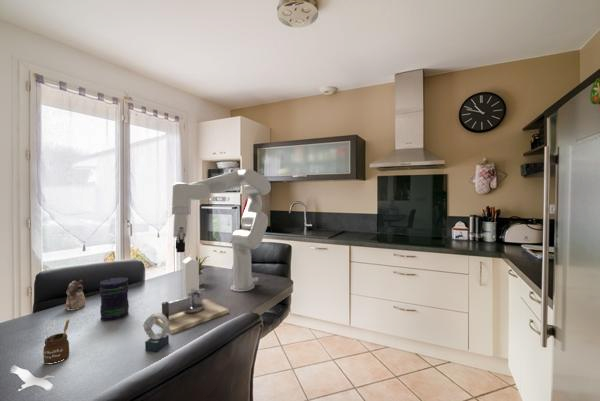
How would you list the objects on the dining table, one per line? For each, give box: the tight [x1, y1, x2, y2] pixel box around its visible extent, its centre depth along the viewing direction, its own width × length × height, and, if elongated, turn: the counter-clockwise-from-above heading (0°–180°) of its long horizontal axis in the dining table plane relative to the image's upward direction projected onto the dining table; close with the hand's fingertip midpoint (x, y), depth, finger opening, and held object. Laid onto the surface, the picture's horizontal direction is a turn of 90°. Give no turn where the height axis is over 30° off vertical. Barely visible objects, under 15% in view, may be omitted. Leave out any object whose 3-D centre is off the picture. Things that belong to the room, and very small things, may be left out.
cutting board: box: [155, 298, 229, 335], centre depth 115 cm, size 24×18×2 cm
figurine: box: [64, 279, 86, 310], centre depth 124 cm, size 7×7×12 cm
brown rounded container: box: [42, 318, 70, 364], centre depth 85 cm, size 6×6×12 cm
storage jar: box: [99, 276, 130, 322], centre depth 115 cm, size 10×10×15 cm
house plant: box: [195, 255, 210, 286], centre depth 157 cm, size 14×14×16 cm
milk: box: [181, 253, 200, 298], centre depth 131 cm, size 6×6×22 cm
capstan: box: [161, 288, 206, 319], centre depth 114 cm, size 18×8×8 cm, turn 138°
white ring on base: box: [142, 312, 170, 353], centre depth 91 cm, size 6×8×11 cm
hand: (180, 250), depth 121 cm, fingers open, 9 cm apart
